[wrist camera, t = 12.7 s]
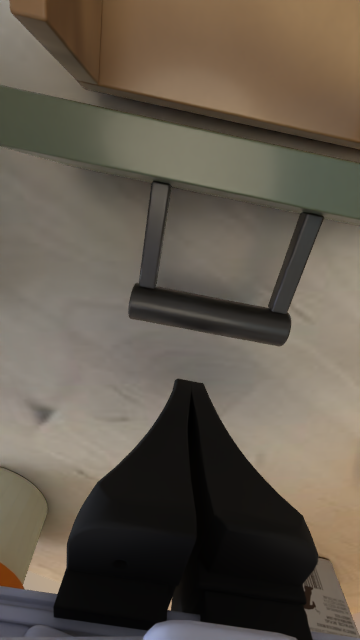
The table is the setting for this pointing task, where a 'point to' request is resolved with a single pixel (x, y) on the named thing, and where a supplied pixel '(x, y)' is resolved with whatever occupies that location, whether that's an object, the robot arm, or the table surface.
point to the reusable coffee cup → (18, 526)
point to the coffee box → (327, 603)
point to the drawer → (195, 143)
